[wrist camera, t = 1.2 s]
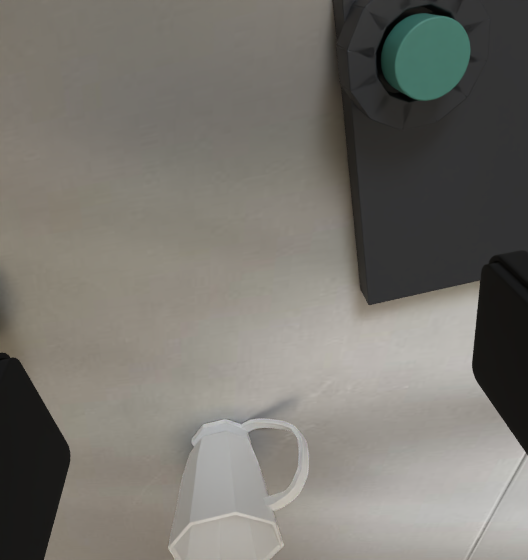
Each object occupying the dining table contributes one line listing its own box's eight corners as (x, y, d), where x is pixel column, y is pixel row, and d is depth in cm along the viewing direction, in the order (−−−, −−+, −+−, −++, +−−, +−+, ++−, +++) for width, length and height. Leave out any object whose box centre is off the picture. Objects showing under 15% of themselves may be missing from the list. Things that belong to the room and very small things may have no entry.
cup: (152, 437, 35) (142, 549, 28) (266, 369, 33) (284, 472, 26) (213, 482, 38) (216, 591, 31) (319, 422, 36) (348, 526, 29)
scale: (320, -14, 21) (341, -12, 18) (645, -87, 21) (718, -98, 18) (353, 291, 30) (370, 325, 27) (581, 240, 30) (623, 269, 27)
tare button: (378, 22, 19) (393, 25, 18) (451, 5, 19) (473, 7, 18) (382, 99, 21) (396, 108, 19) (450, 84, 21) (469, 92, 19)
